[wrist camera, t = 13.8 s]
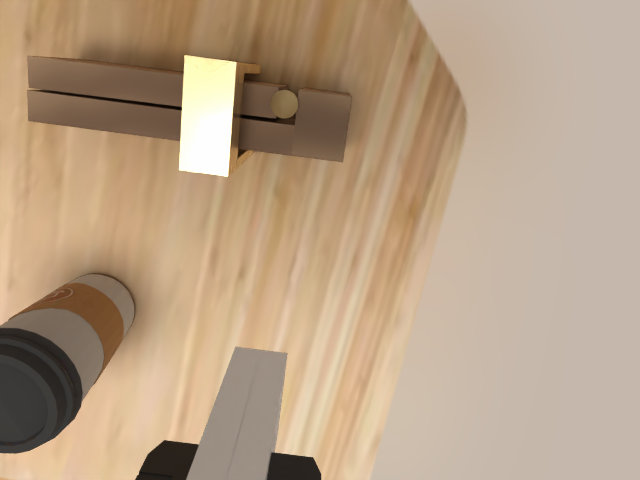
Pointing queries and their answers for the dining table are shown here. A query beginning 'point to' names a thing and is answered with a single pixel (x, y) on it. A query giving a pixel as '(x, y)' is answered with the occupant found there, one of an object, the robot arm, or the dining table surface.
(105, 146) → the dining table surface
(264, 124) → the base
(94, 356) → the coffee cup
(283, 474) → the robot arm
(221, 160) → the lock collar
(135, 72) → the tong arm
